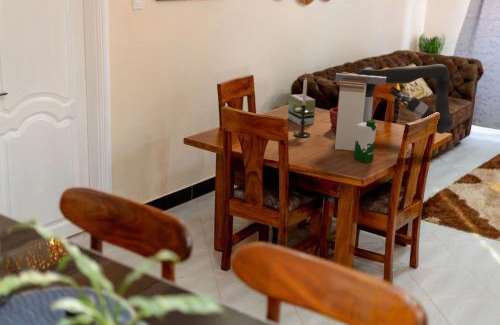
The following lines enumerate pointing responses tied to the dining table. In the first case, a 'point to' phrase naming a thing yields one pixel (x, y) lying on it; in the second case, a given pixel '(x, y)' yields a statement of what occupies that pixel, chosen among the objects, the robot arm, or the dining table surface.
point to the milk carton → (365, 141)
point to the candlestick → (303, 113)
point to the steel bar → (362, 78)
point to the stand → (349, 112)
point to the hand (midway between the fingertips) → (391, 89)
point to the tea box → (296, 102)
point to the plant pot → (334, 120)
